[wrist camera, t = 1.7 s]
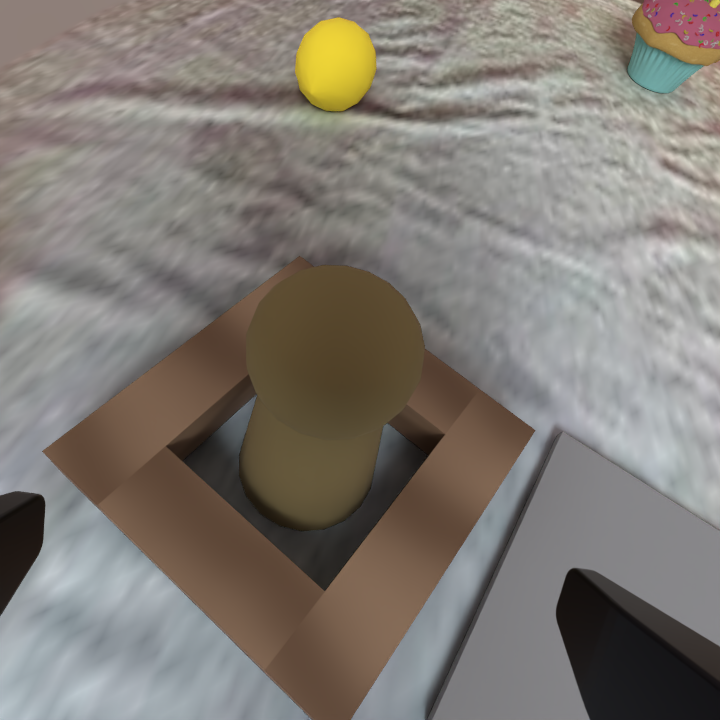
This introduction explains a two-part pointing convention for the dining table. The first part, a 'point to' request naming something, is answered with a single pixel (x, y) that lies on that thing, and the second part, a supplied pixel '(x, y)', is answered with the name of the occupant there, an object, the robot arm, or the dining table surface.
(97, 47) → the dining table surface
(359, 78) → the lemon
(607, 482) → the grey mat
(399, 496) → the socket block
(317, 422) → the cork
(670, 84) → the cupcake
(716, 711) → the robot arm
